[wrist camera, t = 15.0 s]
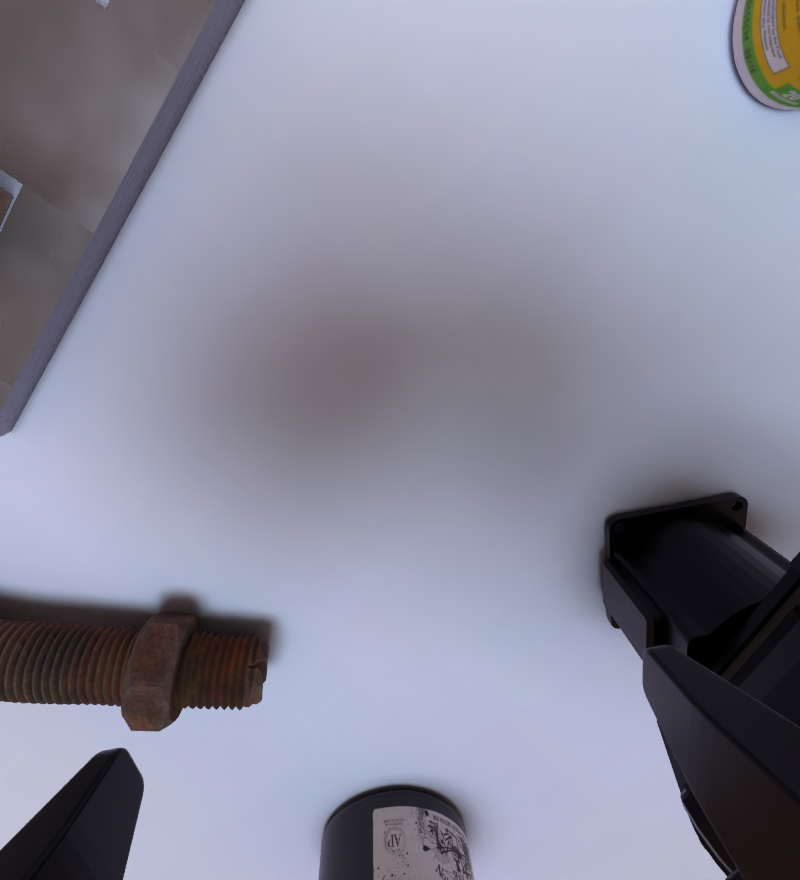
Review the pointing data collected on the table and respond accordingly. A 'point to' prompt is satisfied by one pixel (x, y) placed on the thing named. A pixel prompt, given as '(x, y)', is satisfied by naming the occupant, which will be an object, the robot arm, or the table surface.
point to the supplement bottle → (769, 50)
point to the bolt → (131, 667)
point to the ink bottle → (396, 840)
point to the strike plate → (82, 149)
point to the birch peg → (4, 203)
